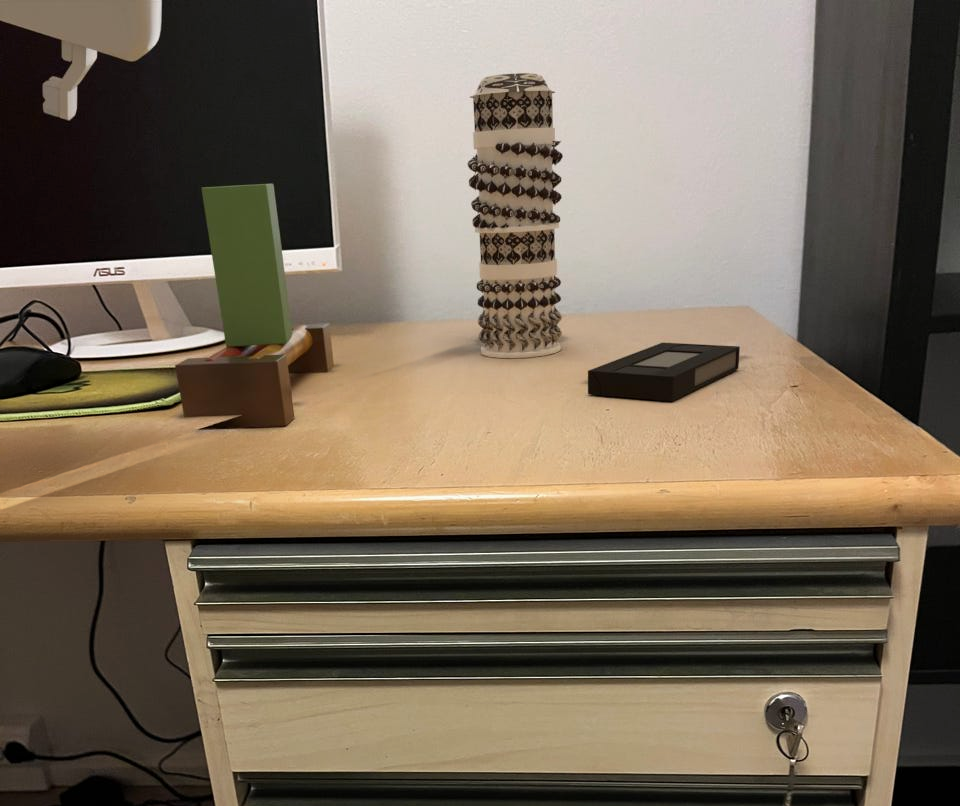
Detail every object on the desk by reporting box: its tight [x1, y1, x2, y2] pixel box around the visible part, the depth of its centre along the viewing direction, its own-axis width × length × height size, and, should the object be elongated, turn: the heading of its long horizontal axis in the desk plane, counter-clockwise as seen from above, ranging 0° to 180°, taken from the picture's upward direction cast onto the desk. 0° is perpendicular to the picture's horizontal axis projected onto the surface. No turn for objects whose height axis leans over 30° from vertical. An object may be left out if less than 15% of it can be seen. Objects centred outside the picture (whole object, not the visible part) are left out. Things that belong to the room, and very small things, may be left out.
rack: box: [174, 322, 335, 430], centre depth 85 cm, size 8×20×5 cm, turn 177°
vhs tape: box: [587, 342, 741, 402], centre depth 84 cm, size 8×14×2 cm, turn 146°
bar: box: [201, 183, 292, 348], centre depth 81 cm, size 5×5×12 cm
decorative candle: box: [467, 72, 564, 359], centre depth 97 cm, size 9×9×25 cm
